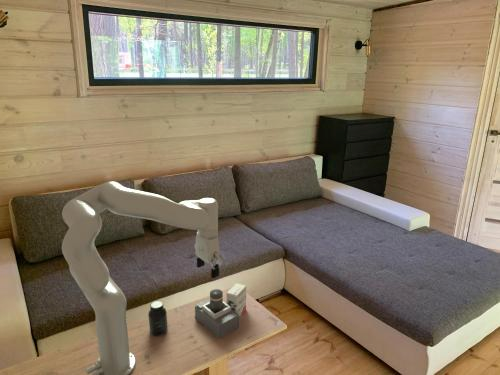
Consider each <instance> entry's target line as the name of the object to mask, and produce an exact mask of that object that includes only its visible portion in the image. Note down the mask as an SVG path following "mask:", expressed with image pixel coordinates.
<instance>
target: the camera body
mask: <svg viewBox="0 0 500 375" xmlns="http://www.w3.org/2000/svg"><path fill="white" fill-rule="evenodd" d="M194 318H195V319H196V320H197V321H198V322H200V323H201V324H202V325H203V326H204V327H205V328H206V329H207V330H208V331H210V333H211V334H213V335H214V336H215V337H216V338H217V339H222V338H223V337H224V336H226V335H228V334H229V333H232V332H233V331H235V330H236V329H239V328H240V317H239V314H238V313H236V312H235V311H234V310H232V309H231V307H230V306H229V305H228V304H227V302H225V301H224V300H223V310H221V311H219V312H217V313H213V312H212V311H211V310H210V297H209V298H207V299H205V300H203V301H201V302H198V303H196V304H195V305H194Z"/></svg>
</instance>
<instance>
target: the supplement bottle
mask: <svg viewBox="0 0 500 375" xmlns="http://www.w3.org/2000/svg"><path fill="white" fill-rule="evenodd" d="M149 306H150V307H149V308H150V309H149V310H148V316H147V317H148V324H149V325H148V326H149V332H150V334H151V335H153V336H157V337H158V336H159V337H160V336H162V335H164V334H165V333H167V332H168V328H169V327H168V315H167V309H166V308H165V307H164V303H163V301H160V300H155V301H152V302H151V304H150V305H149Z"/></svg>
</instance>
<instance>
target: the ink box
mask: <svg viewBox="0 0 500 375" xmlns="http://www.w3.org/2000/svg"><path fill="white" fill-rule="evenodd" d="M226 304H228V305H229V306H230V307H231V309H232V310H234V311H235V312H236V313H238V314H239V318H240V316H242V315H243V313H244V312H245V311H246V309H247V285H245V284H242V283H238V282H237V283H235V284H234V285H233V286H232V287H231V288H230V289H229V290H228V291H227V292H226Z"/></svg>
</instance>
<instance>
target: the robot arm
mask: <svg viewBox="0 0 500 375" xmlns="http://www.w3.org/2000/svg"><path fill="white" fill-rule="evenodd" d="M106 210H108V211H109V212H111V213H112V214H113V215H114V214H115V215H117V216H125V217H131V218H136V219H137V218H138V219H144V220H151V221H154V222H157V223H161V224H164V225H168V226H172V227H175V228H179V229H185V230H194V231H197V232H196V236H195V244H193V246H194V249H195V250H194V253H195V257H196V267H197V268H202V267H204V266H205V263H206V264H209V265H210V266H211V268H210V269H211V270H210V272H211V273H210V274H211V275H210V276H211V277H210V278H211V279H215V278H218V277H219V276H220V268H221V267H222V265H223V259H222V258H221V257H220V242H219V241H220V240H219V237H218V236H219V203H218V200H216V199H215V198H213V197H203V198H201V199H197V200H196V199H194V200H193V199H192V200H183V201H180V202H179V203H177V202H175V201H173V200H171V199H169V198H167V197H165V196H163V195H160V194H156V193H154V192H153V193H152V192H148V191H143V190H138V189H133V188H129V187H126V186H123V185H122V184H121V183H119V182H117V181H107V182H103V183H101V184H99V185H97V186H95V187H93V188H91V189H89V190H87V191H85V192H84V193H82V194H80V195H78V196H76V197H74V198H72V199H70V200H69V201H68V202H66V203H65V205H64V206H63V208H62V212H61V216H62V219H63V221H64V223H65V224H66V225H67V226H68V230H67V231H66V233H65V235H64V236H63V237H64V238H63V240H62V242H61V243H62V244H61V250H62V251H61V252H62V255H63V257H64V259H65V261H66V263H67V264H68V266H69V267H68V268H69V269H68V270H69V272H70V274H71V276H72V278H73V279H74V281H75V282H76V283H77V286H79V288H80V290H81V292H82V293H83V295H84V296H85V297H86V299H87V301H88V302H89V304H90V306H91V308H92V309H93V311H94V314H95V315H94V316H95V324H94V325H95V332H96V339H97V340H96V341H97V346H98V347H97V348H98V354H99V357H97V358H96V359H97V362H95V363H94V364H93V365H91V366H89V367H87V368H85V373H86V374H87V375H89V374H92V375H129V374H132V373H131V372H132V371H133V370H134V369H135V366H136V357H135V355H134V354H133V353H131V352H130V344H129V333H128V324H127V305H128V304H127V298H126V296H125V294H124V293H123V290H122V289H121V288H120V287H119V286H118V285H117V284H116V283H115V281H114V280H113V279H112V278H111V276H110V275H111V274H110V271H109V268H108V266H107V264H106V263H105V261H104V260H103V259H102V256H101V255H100V253H99V252H98V250H97V248H96V245H95V241H96V238H97V236H98V235H99V233H100V231H101V230H102V227H103V226H102V225H103V220H102V217H101V213H103V212H104V211H106ZM214 263H215V264H214Z"/></svg>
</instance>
